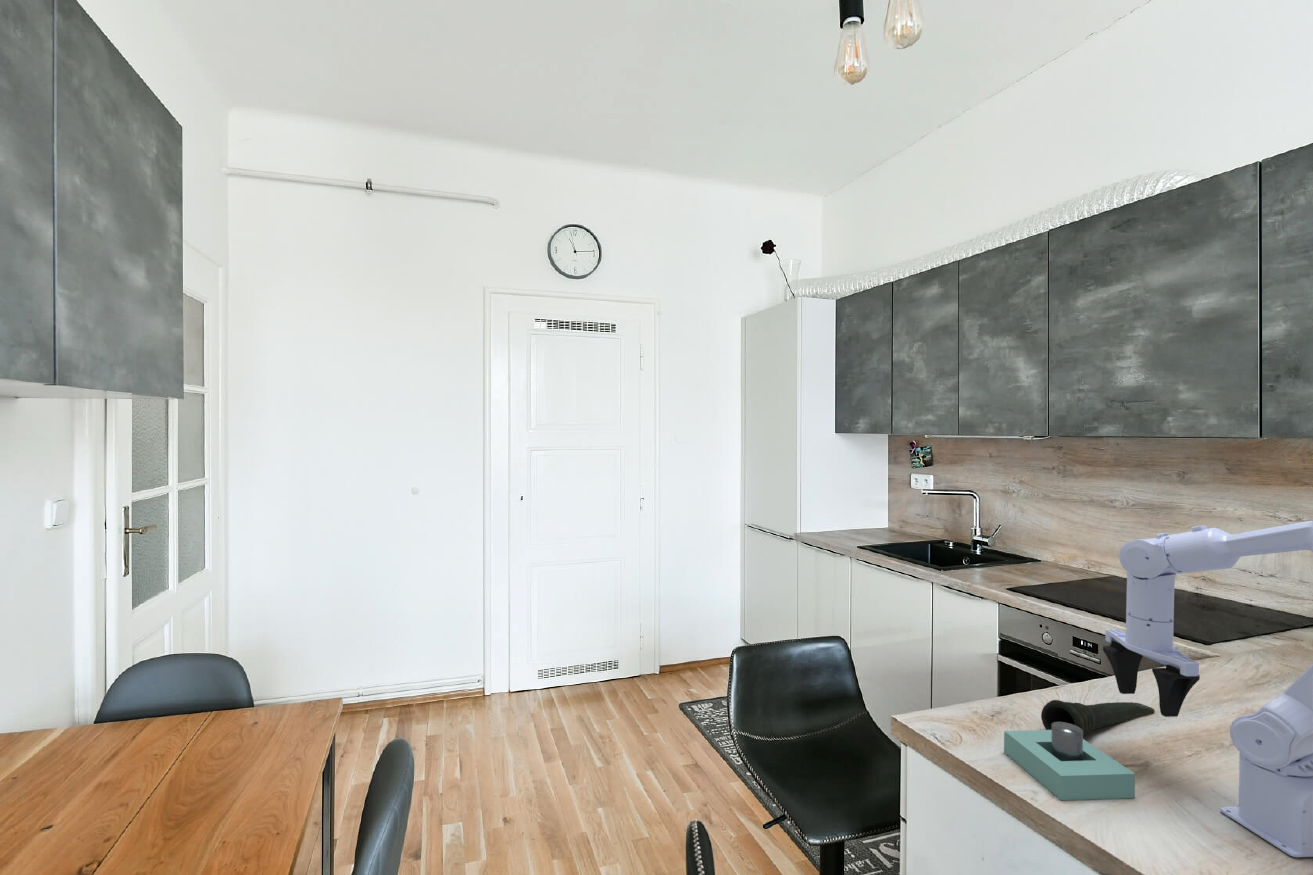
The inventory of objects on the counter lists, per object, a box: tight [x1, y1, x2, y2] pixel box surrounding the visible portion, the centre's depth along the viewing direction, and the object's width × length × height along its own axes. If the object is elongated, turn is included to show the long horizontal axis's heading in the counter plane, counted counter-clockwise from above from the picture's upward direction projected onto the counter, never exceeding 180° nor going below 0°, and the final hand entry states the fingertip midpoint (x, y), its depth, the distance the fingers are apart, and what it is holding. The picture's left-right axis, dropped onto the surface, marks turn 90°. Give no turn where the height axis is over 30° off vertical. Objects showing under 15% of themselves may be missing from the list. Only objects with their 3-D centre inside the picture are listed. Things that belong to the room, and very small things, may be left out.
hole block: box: [1003, 729, 1136, 801], centre depth 94 cm, size 13×11×4 cm
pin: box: [1051, 722, 1084, 761], centre depth 94 cm, size 4×4×7 cm
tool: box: [1040, 699, 1156, 735], centre depth 109 cm, size 28×6×7 cm, turn 111°
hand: (1147, 703), depth 95 cm, fingers open, 7 cm apart
